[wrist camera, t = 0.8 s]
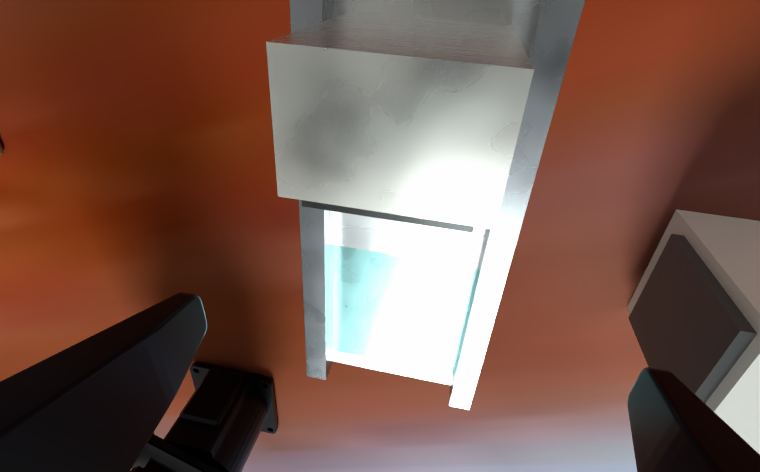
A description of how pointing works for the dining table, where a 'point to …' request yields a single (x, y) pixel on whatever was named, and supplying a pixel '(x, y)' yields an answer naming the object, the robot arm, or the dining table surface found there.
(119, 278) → the dining table surface
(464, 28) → the rail
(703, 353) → the white rectangular block
